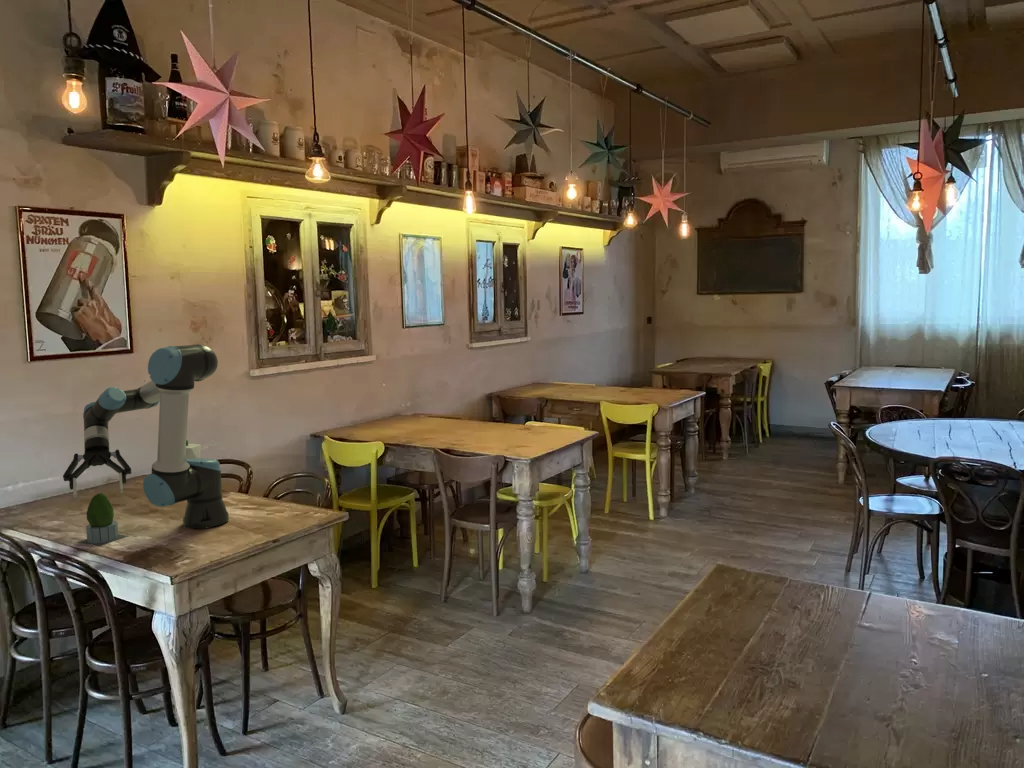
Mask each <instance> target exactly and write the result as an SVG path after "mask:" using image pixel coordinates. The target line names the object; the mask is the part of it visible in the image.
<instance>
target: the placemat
mask: <svg viewBox="0 0 1024 768" xmlns="http://www.w3.org/2000/svg"><path fill="white" fill-rule="evenodd" d="M127 537H129V535H125V534H121V533H120V534H119V533H118V538H117V539H115V540H113V541H110V542H105V543H97V544H93V545H92V546H94V545H95V546H94V547H102V546H105V545H107V544H110V543H113V542H116V541H118V540H121V539H124V538H127ZM76 543H78V544H85V545H88V544H92V543H88V542H87V538H85V539H80V540H79V541H76Z"/></svg>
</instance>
